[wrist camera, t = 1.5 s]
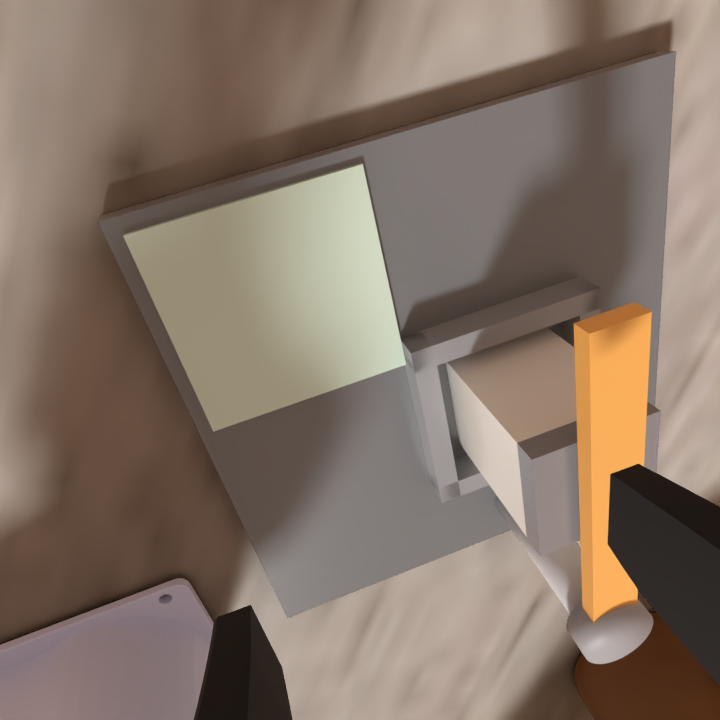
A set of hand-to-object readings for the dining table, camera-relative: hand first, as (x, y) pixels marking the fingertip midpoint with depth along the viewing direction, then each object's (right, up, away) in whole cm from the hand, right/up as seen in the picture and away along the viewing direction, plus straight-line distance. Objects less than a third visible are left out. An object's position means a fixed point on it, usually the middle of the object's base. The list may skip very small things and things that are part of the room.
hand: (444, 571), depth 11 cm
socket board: (+2, +4, +11) cm, 12 cm away
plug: (+4, +3, +11) cm, 12 cm away
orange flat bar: (+6, 0, +6) cm, 8 cm away
